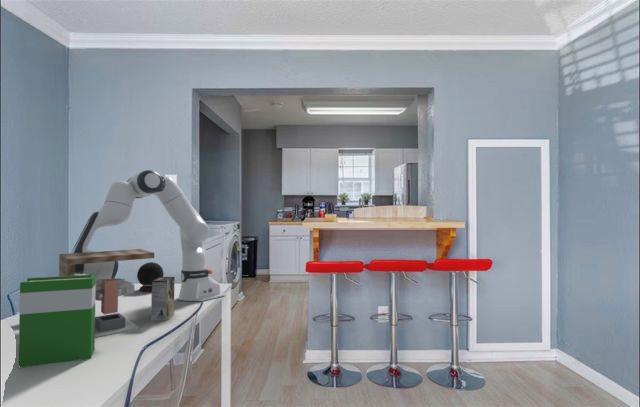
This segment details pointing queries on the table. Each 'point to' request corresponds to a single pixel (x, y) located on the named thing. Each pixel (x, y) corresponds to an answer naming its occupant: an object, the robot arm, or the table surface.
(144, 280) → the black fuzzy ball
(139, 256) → the l-shaped wooden plank
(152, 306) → the coffee box
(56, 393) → the table surface
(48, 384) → the table surface
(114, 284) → the peg
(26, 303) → the hardback book
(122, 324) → the socket
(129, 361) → the table surface
